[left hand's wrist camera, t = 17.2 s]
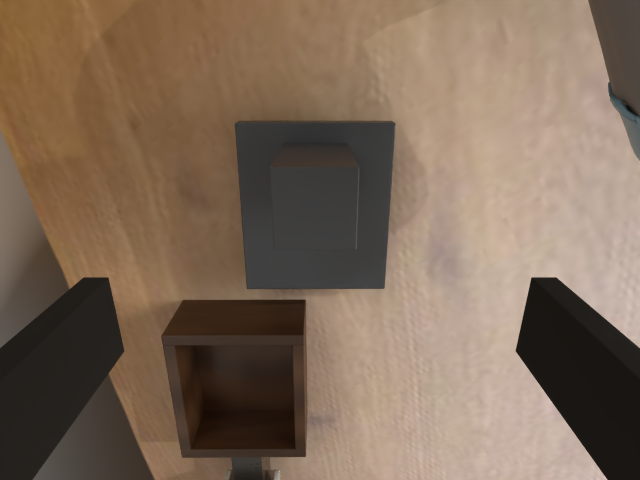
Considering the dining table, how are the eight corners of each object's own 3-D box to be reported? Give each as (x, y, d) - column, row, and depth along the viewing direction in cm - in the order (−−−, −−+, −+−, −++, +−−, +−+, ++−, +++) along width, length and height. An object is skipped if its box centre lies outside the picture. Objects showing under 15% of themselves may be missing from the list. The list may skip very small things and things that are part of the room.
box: (183, 299, 40) (160, 335, 34) (305, 299, 40) (303, 335, 34) (207, 475, 49) (193, 527, 43) (308, 475, 49) (307, 526, 43)
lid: (242, 118, 34) (203, 139, 22) (388, 118, 34) (425, 139, 22) (252, 271, 39) (225, 354, 27) (378, 271, 39) (405, 353, 27)
